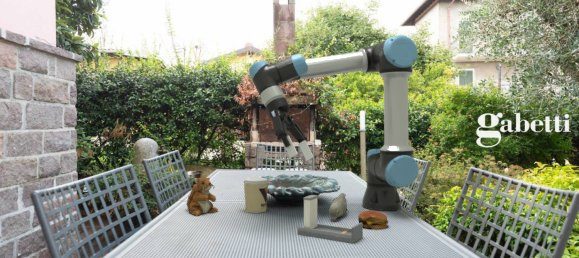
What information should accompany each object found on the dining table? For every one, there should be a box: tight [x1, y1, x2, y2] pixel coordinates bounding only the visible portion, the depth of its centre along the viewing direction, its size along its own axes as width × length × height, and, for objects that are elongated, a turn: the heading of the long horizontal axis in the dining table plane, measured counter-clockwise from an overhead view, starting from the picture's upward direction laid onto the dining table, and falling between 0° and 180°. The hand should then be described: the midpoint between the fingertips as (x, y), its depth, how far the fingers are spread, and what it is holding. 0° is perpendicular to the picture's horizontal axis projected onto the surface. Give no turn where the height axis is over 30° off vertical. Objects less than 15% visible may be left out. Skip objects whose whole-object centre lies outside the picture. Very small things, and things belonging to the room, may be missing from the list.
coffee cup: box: [243, 177, 269, 214], centre depth 160 cm, size 9×9×12 cm
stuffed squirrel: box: [186, 176, 219, 217], centre depth 159 cm, size 10×14×13 cm
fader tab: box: [303, 194, 319, 229], centre depth 130 cm, size 2×5×10 cm, turn 149°
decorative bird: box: [328, 192, 349, 223], centre depth 151 cm, size 5×16×8 cm, turn 161°
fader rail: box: [297, 222, 364, 244], centre depth 126 cm, size 18×7×4 cm, turn 59°
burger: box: [357, 210, 389, 230], centre depth 139 cm, size 10×9×5 cm
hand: (302, 157), depth 136 cm, fingers open, 13 cm apart
